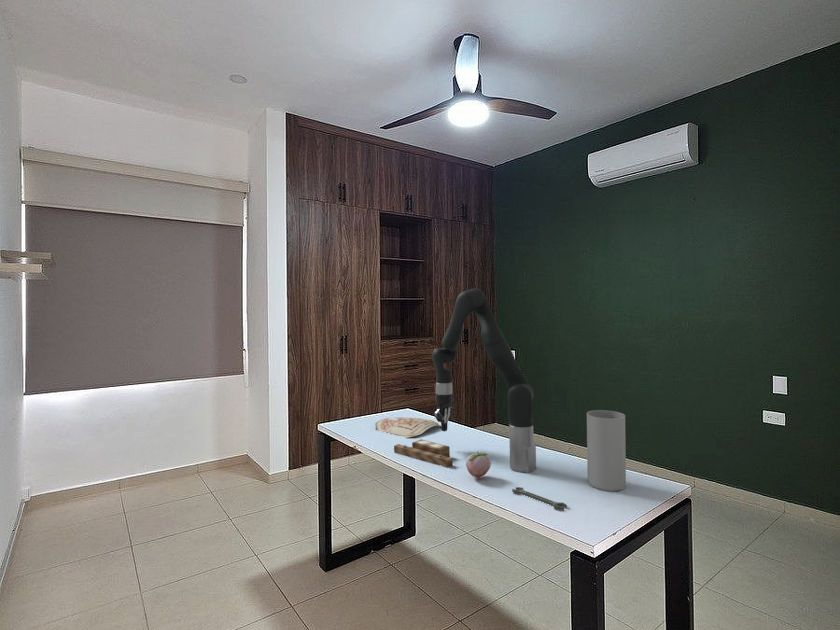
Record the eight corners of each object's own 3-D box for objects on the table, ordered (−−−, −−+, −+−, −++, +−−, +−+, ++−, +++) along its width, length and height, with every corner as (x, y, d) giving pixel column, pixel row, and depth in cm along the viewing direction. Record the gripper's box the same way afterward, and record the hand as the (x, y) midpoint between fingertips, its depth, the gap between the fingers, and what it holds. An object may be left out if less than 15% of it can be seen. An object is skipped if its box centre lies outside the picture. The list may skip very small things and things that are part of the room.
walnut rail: (452, 465, 180) (452, 456, 180) (448, 467, 178) (447, 458, 178) (398, 450, 200) (398, 442, 200) (394, 452, 198) (394, 444, 198)
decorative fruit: (477, 471, 173) (476, 446, 173) (494, 477, 167) (493, 450, 167) (460, 478, 167) (460, 451, 167) (477, 484, 161) (477, 456, 161)
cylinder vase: (582, 477, 165) (581, 410, 164) (617, 477, 165) (616, 409, 164) (594, 492, 152) (594, 419, 152) (632, 491, 152) (631, 418, 152)
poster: (369, 436, 235) (414, 444, 217) (367, 425, 234) (413, 431, 216) (402, 421, 257) (446, 426, 239) (401, 410, 257) (445, 415, 238)
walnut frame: (449, 458, 190) (449, 445, 190) (440, 462, 186) (440, 449, 185) (421, 450, 201) (421, 438, 201) (412, 453, 196) (412, 442, 196)
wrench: (518, 489, 157) (518, 486, 157) (569, 508, 141) (569, 504, 141) (509, 493, 154) (509, 489, 154) (561, 513, 138) (561, 509, 138)
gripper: (446, 389, 208) (446, 426, 208) (428, 393, 198) (428, 432, 198) (459, 391, 203) (459, 429, 203) (441, 395, 193) (441, 435, 193)
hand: (444, 430), depth 201 cm, fingers closed
